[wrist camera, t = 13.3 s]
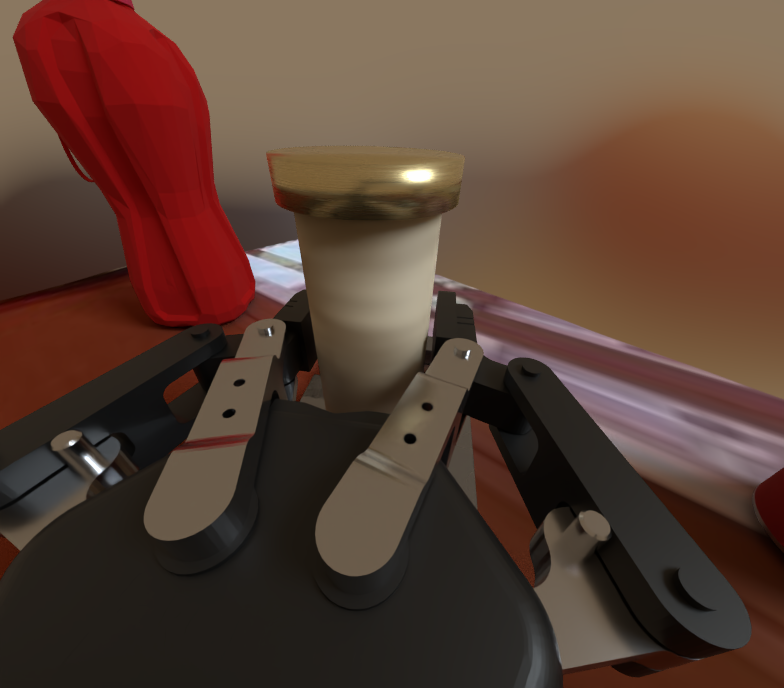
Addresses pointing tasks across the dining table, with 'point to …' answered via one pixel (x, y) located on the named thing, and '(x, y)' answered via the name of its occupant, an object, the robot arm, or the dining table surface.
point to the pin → (367, 260)
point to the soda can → (771, 507)
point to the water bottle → (140, 151)
